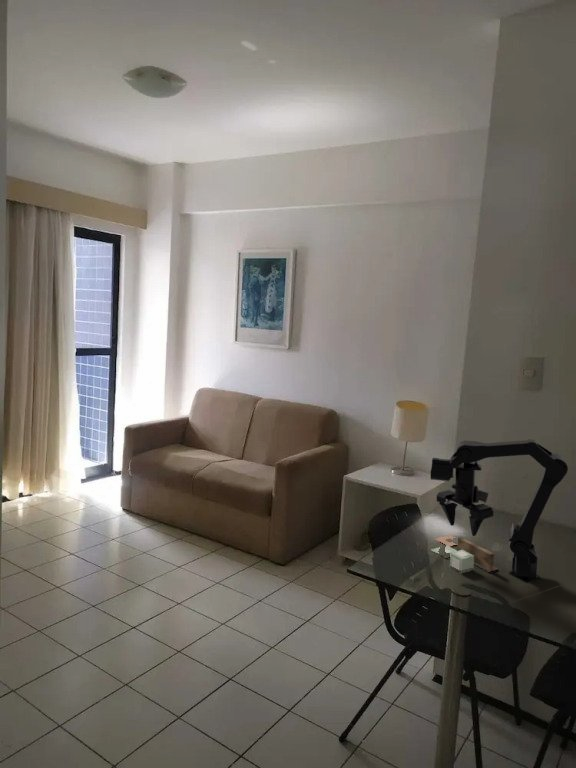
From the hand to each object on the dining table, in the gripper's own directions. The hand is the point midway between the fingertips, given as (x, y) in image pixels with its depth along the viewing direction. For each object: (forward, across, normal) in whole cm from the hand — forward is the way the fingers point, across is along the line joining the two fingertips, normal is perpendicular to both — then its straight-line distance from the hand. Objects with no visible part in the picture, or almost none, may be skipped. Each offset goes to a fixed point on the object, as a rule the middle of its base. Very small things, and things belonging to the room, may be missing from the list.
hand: (462, 530), depth 180 cm
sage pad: (+12, +10, -3) cm, 16 cm away
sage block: (+12, -1, +1) cm, 12 cm away
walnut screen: (+12, 0, -5) cm, 13 cm away
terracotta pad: (+12, +16, -10) cm, 22 cm away
